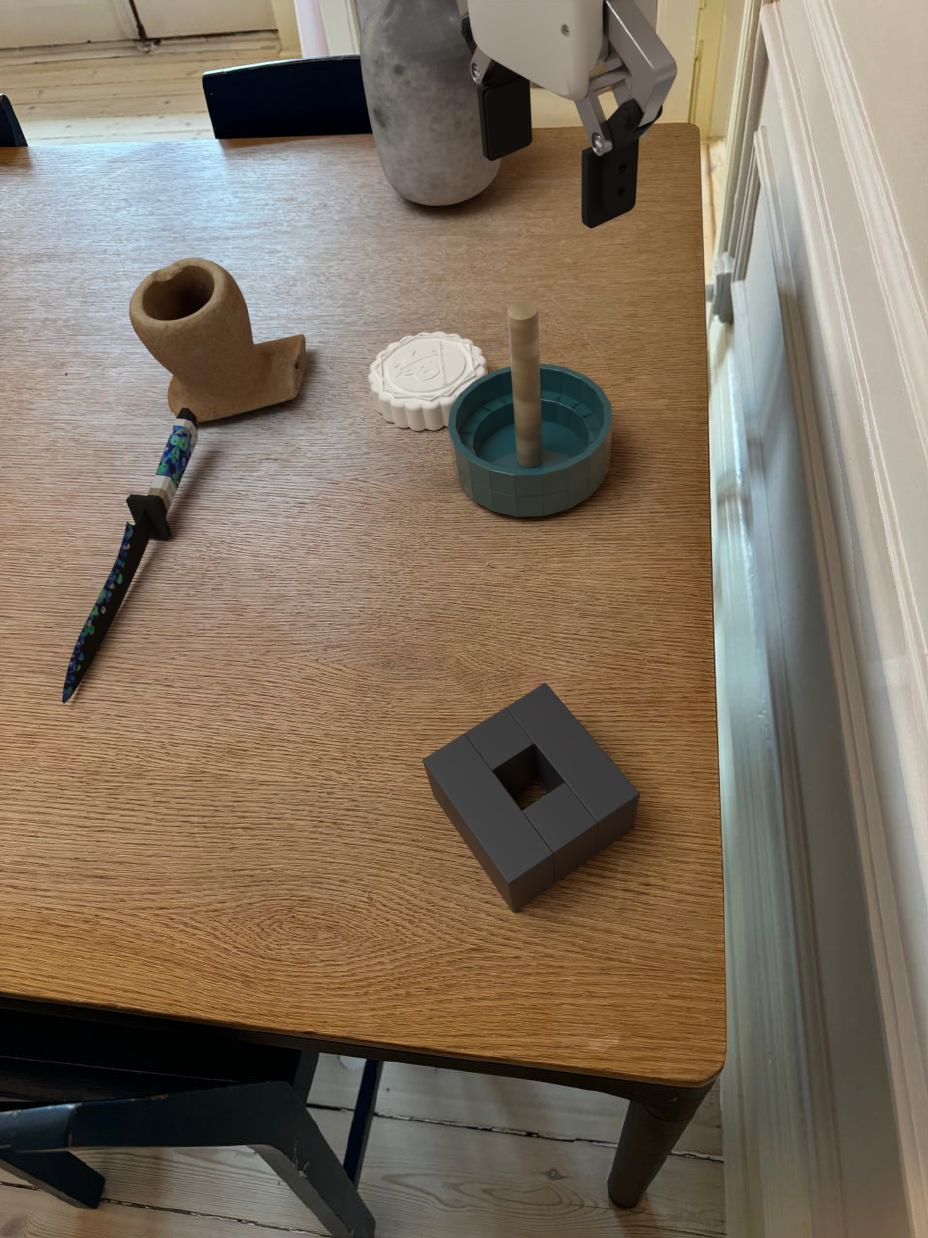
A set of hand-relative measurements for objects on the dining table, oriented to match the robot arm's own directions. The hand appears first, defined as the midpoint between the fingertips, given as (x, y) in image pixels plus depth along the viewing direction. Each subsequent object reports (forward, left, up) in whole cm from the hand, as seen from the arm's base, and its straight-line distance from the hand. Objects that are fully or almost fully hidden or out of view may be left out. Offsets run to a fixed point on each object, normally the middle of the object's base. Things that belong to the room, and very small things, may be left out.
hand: (555, 182), depth 48 cm
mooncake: (-2, -24, -32) cm, 40 cm away
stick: (-4, -10, -31) cm, 33 cm away
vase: (-24, -56, -32) cm, 69 cm away
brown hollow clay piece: (+14, -36, -32) cm, 50 cm away
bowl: (-4, -9, -32) cm, 33 cm away
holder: (+16, +19, -32) cm, 40 cm away
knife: (+31, -21, -32) cm, 50 cm away
